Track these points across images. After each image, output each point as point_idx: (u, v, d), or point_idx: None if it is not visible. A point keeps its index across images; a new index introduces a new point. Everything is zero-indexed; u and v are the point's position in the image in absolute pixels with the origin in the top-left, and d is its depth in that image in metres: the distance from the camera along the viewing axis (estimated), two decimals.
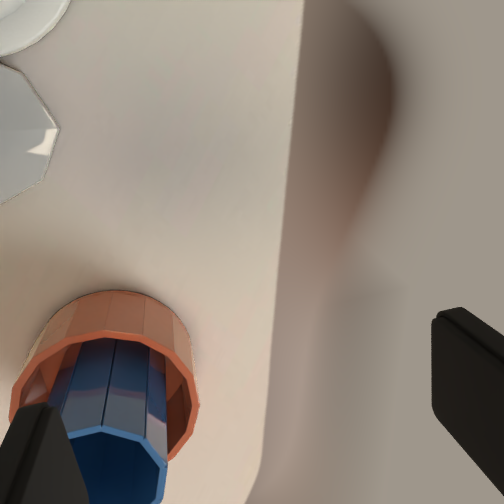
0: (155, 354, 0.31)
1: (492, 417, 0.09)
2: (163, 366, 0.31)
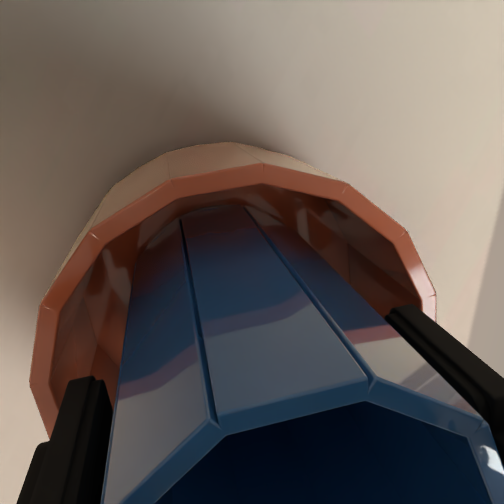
0: None
1: None
2: None
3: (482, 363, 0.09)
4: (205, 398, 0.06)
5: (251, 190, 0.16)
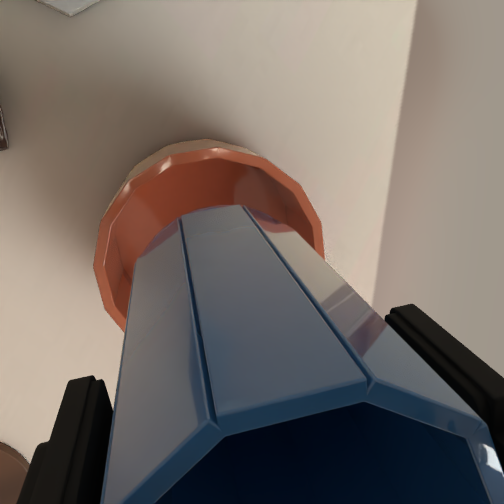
0: None
1: None
2: None
3: (482, 363, 0.09)
4: (204, 399, 0.06)
5: (221, 169, 0.26)
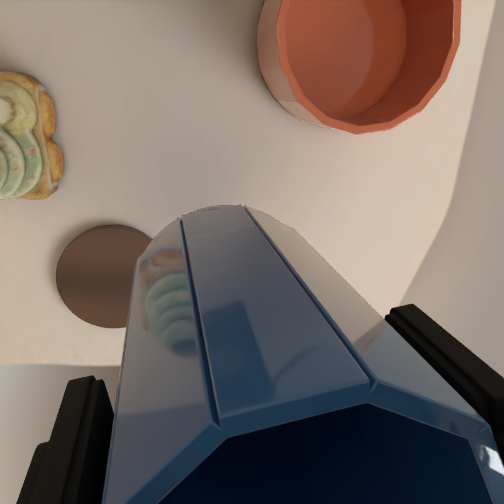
0: None
1: None
2: None
3: (482, 363, 0.09)
4: (206, 400, 0.06)
5: None
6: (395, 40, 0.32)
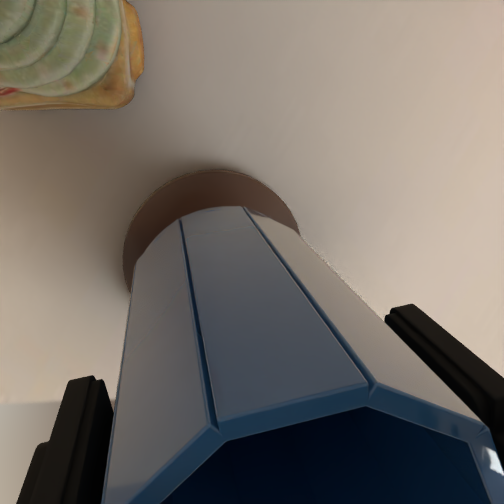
0: None
1: None
2: None
3: (482, 363, 0.09)
4: (205, 403, 0.06)
5: None
6: None
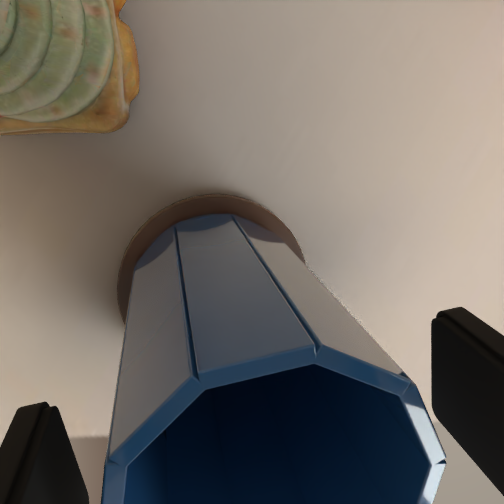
0: None
1: (492, 417, 0.09)
2: None
3: None
4: (189, 362, 0.08)
5: None
6: None
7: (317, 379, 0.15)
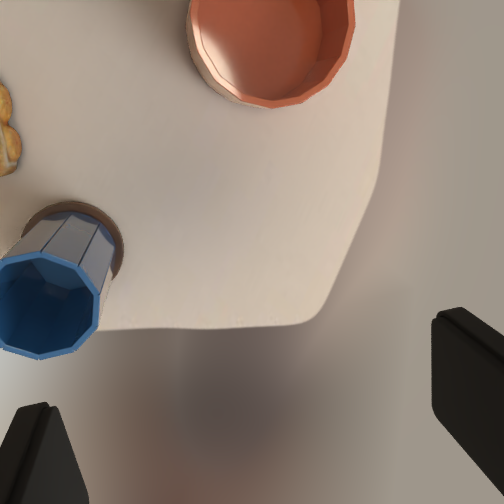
0: (104, 235, 0.35)
1: (492, 417, 0.09)
2: (111, 247, 0.36)
3: None
4: (3, 257, 0.26)
5: None
6: (311, 28, 0.36)
7: None
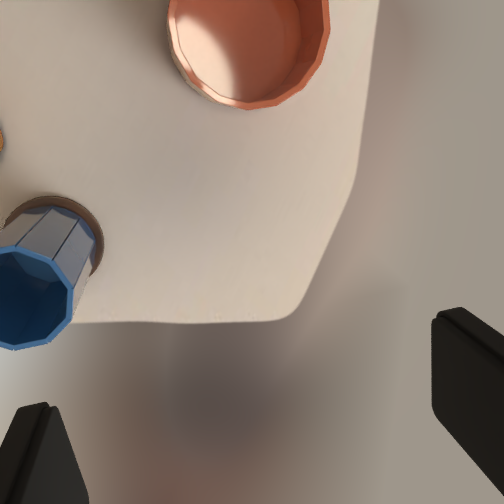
0: (83, 230, 0.36)
1: (492, 417, 0.09)
2: (90, 242, 0.37)
3: None
4: None
5: None
6: (290, 31, 0.36)
7: None
